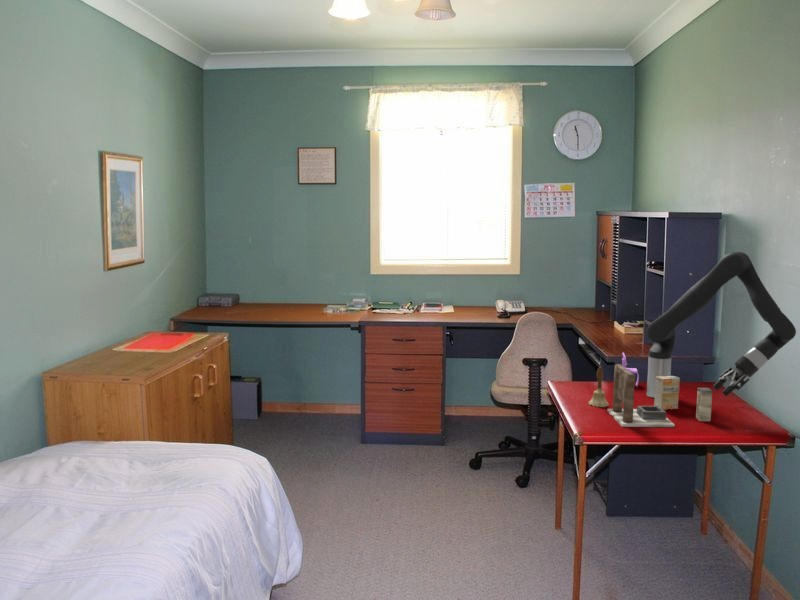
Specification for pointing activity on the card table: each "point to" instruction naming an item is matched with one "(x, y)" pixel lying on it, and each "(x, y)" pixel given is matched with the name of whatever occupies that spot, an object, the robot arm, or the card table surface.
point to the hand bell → (599, 392)
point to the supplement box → (667, 392)
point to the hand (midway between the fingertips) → (719, 391)
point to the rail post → (704, 404)
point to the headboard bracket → (628, 415)
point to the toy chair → (632, 370)
